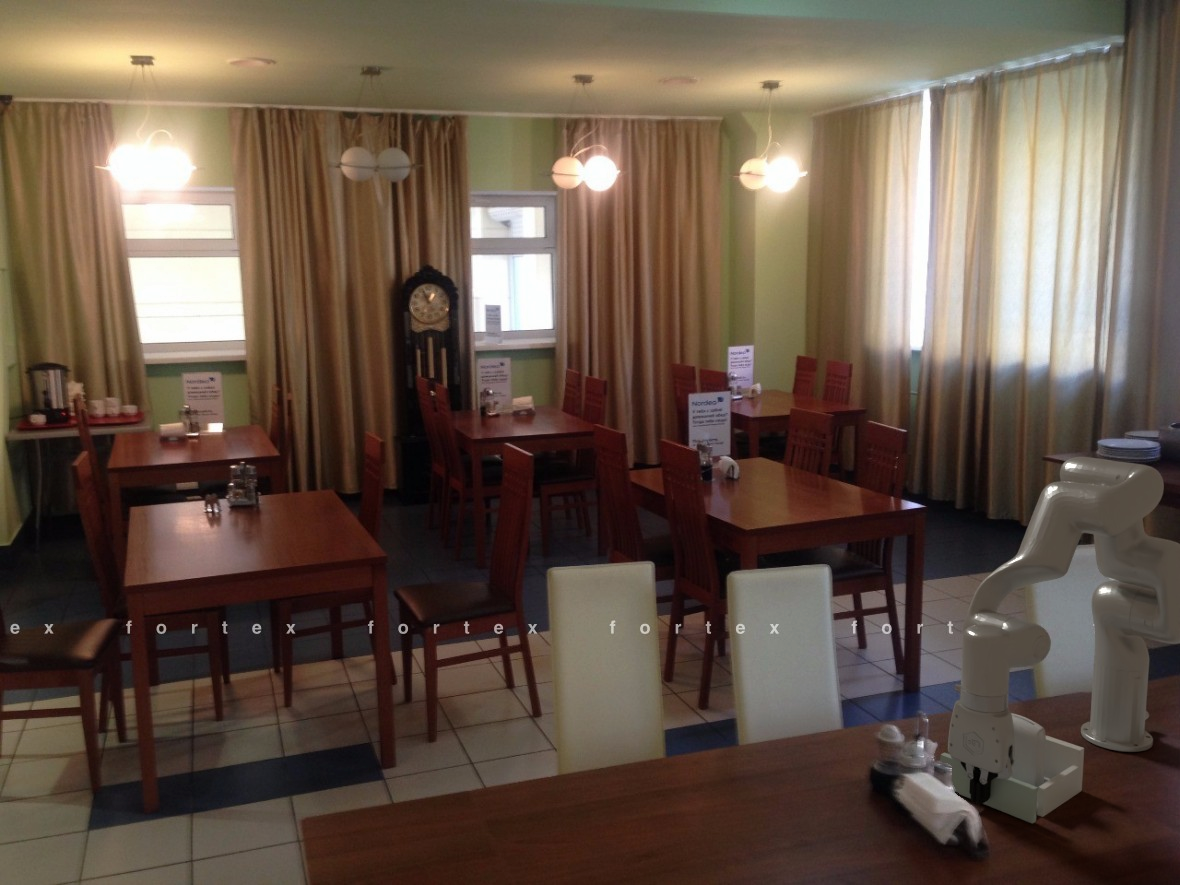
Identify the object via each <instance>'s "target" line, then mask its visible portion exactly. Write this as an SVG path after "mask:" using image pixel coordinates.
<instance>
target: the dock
mask: <svg viewBox="0 0 1180 885" xmlns="http://www.w3.org/2000/svg"><path fill="white" fill-rule="evenodd" d="M1084 755H1085V748H1084V747H1082V746H1079V745H1076V744H1073V743H1070V742H1068V741H1064V740H1061V739H1059V738H1055V737H1052V736H1049V735H1046V741H1045V766H1044V777H1047V778H1049V779H1050V780H1049V781H1047V782H1046V783H1044V784H1042V785H1041V786H1039V787H1038V803H1037V812H1036V816H1039V817H1041V818H1043V817H1045V816H1046V815H1048V814H1049V813H1051V812H1053V811H1054V810H1055V809H1057V808H1058V807H1060V806H1061V805H1062V804H1064V803H1066V802H1067V801H1069V800H1070V799H1072V798H1073V797H1074V796H1076V795H1078V794H1079V793H1080V792H1082V789H1083V775H1084V757H1085V756H1084Z"/></svg>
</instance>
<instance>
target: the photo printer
mask: <svg viewBox="0 0 1180 885" xmlns="http://www.w3.org/2000/svg"><path fill="white" fill-rule="evenodd" d="M1011 714H1012V719H1013V725H1014V737H1015V758H1014V764H1013V765H1012V766H1011V767H1012V773H1013V776H1012V777H1011V778H1014V779H1017V780H1019V781H1022V782H1025V783H1028V784H1030V785H1033V786H1036V787H1039V786H1041V785H1042V784H1044V766H1045V741H1046V736H1047V735H1046V730H1045V728H1044V727H1043V726H1042V725H1040V724H1039V723H1037V722H1035V721H1033V720H1031V719H1030V718H1028V717H1025V716H1023V715H1019V714H1016V713H1012V712H1011Z"/></svg>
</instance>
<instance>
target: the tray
mask: <svg viewBox="0 0 1180 885" xmlns="http://www.w3.org/2000/svg"><path fill="white" fill-rule="evenodd" d="M939 761H940V762H942V763H948V764H950V765H951V766H952V781H953V785H954V787H955V789H956V791H957V792H958V793H959V794H958V793H957V794H958V795H961V796H963V797H966V798H968V799H969V800H970V799H971V794H970V793H969V790H970V779H969V778H968V777H967V772H966V771H965V769H964V768H963V766H962V765H961V763H958V762H957V761H955V760H954V759H952V758H951V755H950V754H949V753H948V752H943V753H941V754H940V760H939ZM940 762H939V763H940ZM1049 780H1050V779H1049V778H1047V777H1044V783H1046V782H1047V781H1049ZM1037 803H1038V787H1036V786H1033V785H1030V784H1028V783H1025V782H1022V781H1019V780H1017V779H1014V778H1009V779H1001V778H995V779H993V780H991V795H990V798H989V800H988V801H986V802H984V803H983V804H982V805H984V806H985V805H986V806H988V807H990V808H992V809H994V810H995V809H996V810H997V811H1001V813H1002V812H1003V813H1006V814H1008V815H1011V816H1012V817H1015V818H1018V819H1020V820H1022V821H1025V822H1027V823H1030V824H1032V825H1033V824H1034V823H1036V821H1037Z"/></svg>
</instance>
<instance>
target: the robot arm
mask: <svg viewBox="0 0 1180 885" xmlns="http://www.w3.org/2000/svg"><path fill="white" fill-rule="evenodd" d="M1059 478H1060V481H1053V482H1051V483H1048V484H1047V485H1046V486H1044V488H1043V489H1042V491H1041V493H1040V495H1039V498H1038V500H1037V503H1036V505H1035V507H1034V510H1033V512H1032V515H1031V518H1030V521H1029V523H1028V526H1027V528H1026V530H1025V533H1024V536H1023V538H1022V541H1021V544H1020V545H1019V546H1020V547H1019V549H1018V552H1017V553H1016V555H1014V556H1013V558H1011V559H1009V560H1008V561H1007V562H1004V563H1003V564H1002V565H999V567H997V568H996V569H995V570H994V571H992V572H991V573H990V574H989V575H988V576H987V577H985V579H983V580H982V582H980V584H979V585H978V586H977V588H976V589H975V591H974V594H973V595H972V598H971V601H970V604H969V606H968V608H967V611H966V613H965V617H964V620H963V623H962V651H961V652H962V654H961V675H960V677H961V678H960V683H956V684H955V685H954V691H955V692H956V693H958V694H959V699H957V700H956V701H955V702H954V706H953V710H952V713H951V717H950V721H949V722H950V723H949V731H948V739H947V740H948V741H947V754H950V755H951V758H952V759H954V760H955V761H957V762H958V763H961V765H962V766H963V768H964V769H965V771H966V772H967V777H968V778H969V779H970V790H969V793H970V794H971V799H970V798H969V800H970V802H971V803H973V804H975V803H976V805H977V806H981V805H984V804H983V803H984V802H986V801H988V800H989V798H990V795H991V780H993V779H995V778H1001V779H1009V778H1011V777H1012V776H1013V773H1012V767H1011V766H1012V765H1013V764H1014V758H1015V737H1014V725H1013V719H1012V714H1011V713H1012V710H1011V709H1009V688H1010V670H1011V669H1015V668H1027V667H1032V666H1035V665H1038V664H1039V663H1041V662H1043V661H1044V660H1045V659H1046V658H1047V656H1048V654H1049V652H1050V651H1051V644H1052V641H1051V637H1050V634H1049V632H1048V631H1047V630H1046V628H1044V627H1043V626H1041V625H1040V624H1037V623H1036V622H1034V621H1033V622H1032V621H1029V620H1026V619H1022V618H1018V617H1015V616H1011V615H1007V614H1003V613H1000V612H998V609H999V608H1000V605H1002V602H1003V601H1004V600H1005V599H1006V598H1007V597H1008V596H1009V595H1010V594H1011V593H1013V592H1015V591H1016V590H1019V589H1021V588H1024V587H1026V586H1030V585H1035V584H1039V583H1043V582H1048V581H1053V580H1058V579H1061V578H1063V577H1064V576H1066V575H1067V573H1068V571H1069V569H1070V566H1071V563H1072V560H1073V558H1074V556H1075V553H1076V550H1077V547H1078V544H1079V542H1080V539H1081V537H1082V535H1083V534H1091V535H1093V539H1094V540H1093V542H1094V551H1095V560H1096V566H1097V568H1098V571H1099V573H1100V574H1101V575H1102V576H1103V577H1104V578H1107V579H1110V580H1109V581H1105V582H1103V583H1100V584H1099V585H1098V586H1097V587H1096V588H1095V589H1094V591H1093V594H1092V598H1091V612H1092V620H1093V628H1094V656H1093V667H1092V668H1093V671H1092V688H1091V702H1090V704H1091V705H1090V707H1091V708H1090V720H1089V721H1087V722H1085V723H1083V724H1082V725H1081V727H1080V733H1081V736H1082V737H1083V738H1084V740H1086V741H1088V742H1089V743H1092V744H1093V745H1096V746H1098V747H1101V748H1104V749H1107V750H1113V751H1117V752H1125V753H1127V752H1128V753H1136V752H1138V753H1139V752H1143V751H1144V752H1145V751H1147V750H1149V749H1151V748H1152V747H1153V744H1154V738H1153V736H1152V735H1151V734H1150V733H1149V732H1148V731H1147V730H1145V727H1146V726H1145V725H1146V720H1147V719H1148V718H1149V717H1150V714H1149V712H1148V711H1147V698H1148V697H1147V696H1148V682H1149V669H1150V655H1149V650H1148V647H1147V644H1146V642H1145V641H1144V638H1145V639H1148V640H1152V641H1156V642H1160V643H1165V644H1171V645H1172V644H1173V645H1177V644H1180V543H1179V542H1176V541H1173V540H1171V539H1165V538H1160V537H1156V536H1155V537H1154V536H1150V535H1148V534H1147V533H1146V532H1145V528H1144V521H1143V519H1144V518H1145V517H1146V516H1148V515H1149V514H1150V513H1151V512H1153V510H1155V508H1156V507H1157V506H1158V505H1159V503H1160V502H1161V500H1162V497H1163V495H1164V489H1165V488H1164V487H1165V486H1164V484H1165V483H1164V478H1163V477H1162V475H1161V473H1160V472H1159V470H1157V469H1156V468H1155V467H1153V466H1149V465H1147V464H1140V463H1133V462H1125V461H1117V460H1110V459H1105V458H1097V457H1096V458H1095V457H1089V456H1075V457H1071V458H1068V459H1067V460H1065V461H1064V462H1063V463H1062V464H1061V467H1060V469H1059Z"/></svg>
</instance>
